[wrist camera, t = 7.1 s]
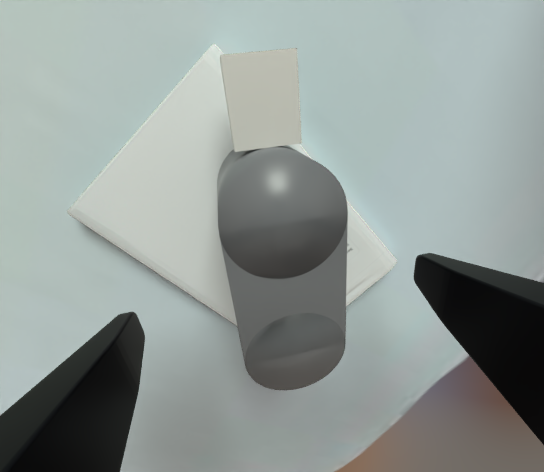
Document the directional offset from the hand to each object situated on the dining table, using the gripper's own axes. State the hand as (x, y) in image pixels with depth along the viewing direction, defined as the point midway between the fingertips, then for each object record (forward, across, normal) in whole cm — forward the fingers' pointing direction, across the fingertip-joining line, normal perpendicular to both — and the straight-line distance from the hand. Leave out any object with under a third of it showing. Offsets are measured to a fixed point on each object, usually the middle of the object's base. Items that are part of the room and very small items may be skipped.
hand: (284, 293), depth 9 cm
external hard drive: (+6, 0, 0) cm, 6 cm away
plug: (+4, 0, 0) cm, 4 cm away
